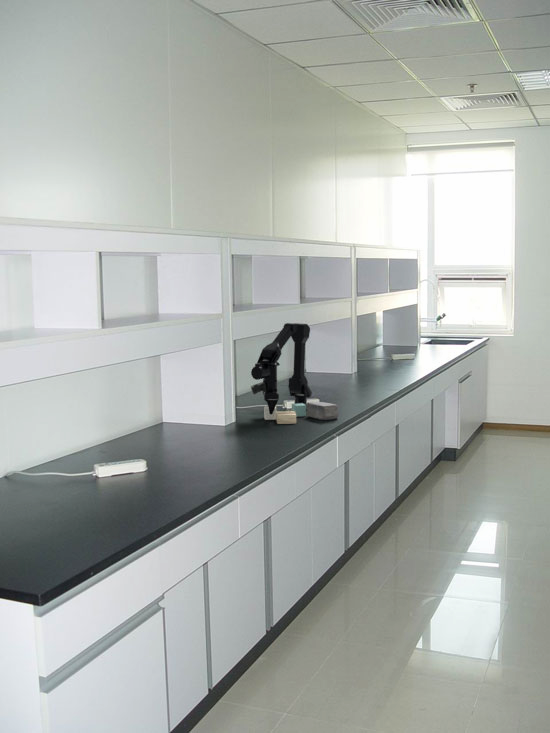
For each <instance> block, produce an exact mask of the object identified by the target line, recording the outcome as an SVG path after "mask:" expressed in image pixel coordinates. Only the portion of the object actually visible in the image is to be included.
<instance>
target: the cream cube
mask: <svg viewBox="0 0 550 733" xmlns="http://www.w3.org/2000/svg"><path fill="white" fill-rule="evenodd" d="M263 407H264V409H263V413H264V415H263V416H264V417H263V418H264V420H265V421H266V420H267V421H268V420H276V411H277V405H276V406H275V409H274V411H273V414H270V413H269V408H268V405H267V406H266V405H265V406H263Z"/></svg>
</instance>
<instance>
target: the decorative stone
mask: <svg viewBox="0 0 550 733" xmlns="http://www.w3.org/2000/svg"><path fill="white" fill-rule="evenodd" d="M338 410H339V408H338V405H337V404H335V403H329V402H325V401H324V402H322V401H307V410H306V413H307V416H308V417H309V418H312V419H315V420H318V421H319V420H320V421H334V420H337V419H338V418H339V411H338Z"/></svg>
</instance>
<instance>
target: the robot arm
mask: <svg viewBox="0 0 550 733" xmlns="http://www.w3.org/2000/svg"><path fill="white" fill-rule="evenodd" d="M310 333H311V328H310V325H309V324H308V323H297V322H296V323H292V322H291V323H290V322H286V323H284V324H283V328H282V329H281V330H280V331H279V333H278V334H277V335H276V337H275V338H274V339H273V341H272V342H271V343H269V344H267V345H266V346H264V347H263V348H262V350H261V352H260V355H259V357H258V359H257V362H256V363H255V364H254V366H253V367H252V369H251V372H250V374H251V377H252V379H254V380H256V381H259V380H262V382H259V383H255V384H253V385H251V386H250V389H251V391H252V394H253V395H256V394H257V393H260V392H262V395H263V400H264V401H265V402H266V403H267V404H266V405H267V406H268V408H269V413H270V414H273V411H274V409H275V406H276V407H277V404H278V402H279V399H280V398H279V396H280V395H279V392H278V366H280V365H281V364H280V363H279V362H278V361H279V359H280V357H281V356H282V349H283V348H284V346H285V345H286V344H287V343H288V341H289V339H290V338H291V339H292V341H293V343H294V346H293V347H294V348H293V350H294V351H293V373H292V376H291V377H290V378H289V379H288V391H289V396H290V397H294V402H293V404H297V403H303V404H305V405H306V411H307V403H308V399H309V398H311V397H312V393H313V392H312V391H311V389H310V387H309V385H308V384H309V383H308V379H307V377H306V376H305V368H306V367H305V366H306V365H305V362H306V343H307V341H308V340H309V338H310Z"/></svg>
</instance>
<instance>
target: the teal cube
mask: <svg viewBox="0 0 550 733" xmlns="http://www.w3.org/2000/svg"><path fill="white" fill-rule="evenodd" d="M291 411H295V413H296V418H298V417H306V416H307V410H306V405H305V404H303V403H297V404H294V403H291Z"/></svg>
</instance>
